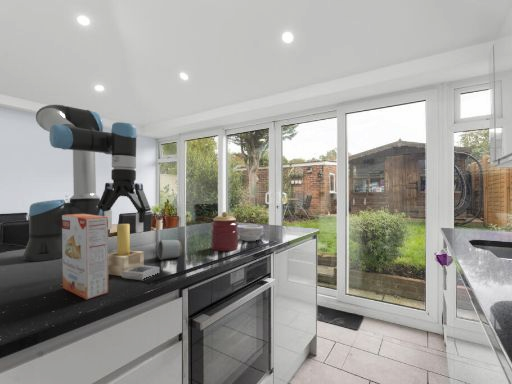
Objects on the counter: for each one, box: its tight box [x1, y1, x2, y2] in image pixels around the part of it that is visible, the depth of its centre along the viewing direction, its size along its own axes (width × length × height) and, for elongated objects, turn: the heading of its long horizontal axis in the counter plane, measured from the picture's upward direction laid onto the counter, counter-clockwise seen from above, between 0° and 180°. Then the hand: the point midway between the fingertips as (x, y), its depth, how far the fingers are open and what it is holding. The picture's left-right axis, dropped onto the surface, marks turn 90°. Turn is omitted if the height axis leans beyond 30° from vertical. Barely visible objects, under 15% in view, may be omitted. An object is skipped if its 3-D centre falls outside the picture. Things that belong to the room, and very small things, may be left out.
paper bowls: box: [237, 224, 264, 242], centre depth 152 cm, size 15×15×8 cm
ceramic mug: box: [157, 239, 183, 260], centre depth 112 cm, size 11×8×8 cm
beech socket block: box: [108, 250, 145, 277], centre depth 92 cm, size 9×9×6 cm
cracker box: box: [62, 214, 109, 300], centre depth 73 cm, size 14×6×21 cm, turn 56°
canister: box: [210, 211, 239, 252], centre depth 129 cm, size 13×13×18 cm
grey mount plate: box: [121, 264, 160, 281], centre depth 88 cm, size 8×8×2 cm
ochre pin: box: [116, 223, 131, 256], centre depth 92 cm, size 4×4×16 cm
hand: (123, 230), depth 92 cm, fingers open, 13 cm apart
